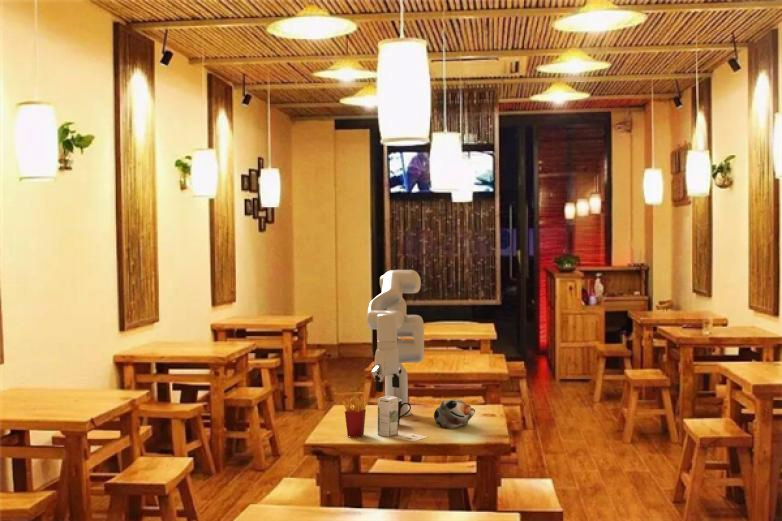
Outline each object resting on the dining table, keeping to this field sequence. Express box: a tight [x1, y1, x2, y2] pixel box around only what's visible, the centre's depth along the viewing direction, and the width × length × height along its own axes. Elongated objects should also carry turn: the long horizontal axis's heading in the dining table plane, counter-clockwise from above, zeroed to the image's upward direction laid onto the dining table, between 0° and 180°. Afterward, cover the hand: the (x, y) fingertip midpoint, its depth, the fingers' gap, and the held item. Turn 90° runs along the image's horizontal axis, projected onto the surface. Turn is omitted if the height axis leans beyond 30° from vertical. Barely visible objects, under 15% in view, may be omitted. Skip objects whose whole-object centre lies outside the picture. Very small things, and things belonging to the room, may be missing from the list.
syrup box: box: [377, 395, 399, 438], centre depth 343 cm, size 6×6×14 cm
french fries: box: [342, 395, 367, 438], centre depth 343 cm, size 9×8×15 cm
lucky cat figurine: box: [433, 398, 476, 430], centre depth 357 cm, size 15×12×14 cm
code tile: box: [395, 433, 428, 442], centre depth 339 cm, size 9×9×1 cm
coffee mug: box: [398, 399, 412, 426], centre depth 360 cm, size 12×9×10 cm
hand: (387, 389), depth 344 cm, fingers open, 9 cm apart
